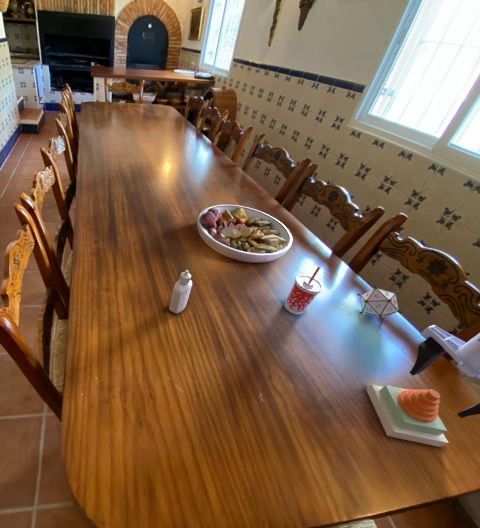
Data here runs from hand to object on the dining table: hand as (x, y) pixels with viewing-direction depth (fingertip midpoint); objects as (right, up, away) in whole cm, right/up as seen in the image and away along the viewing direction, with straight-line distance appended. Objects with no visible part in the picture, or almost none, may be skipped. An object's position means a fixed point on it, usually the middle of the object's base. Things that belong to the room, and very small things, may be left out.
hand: (437, 392), depth 51 cm
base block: (-1, -7, +6) cm, 10 cm away
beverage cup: (-10, +10, +27) cm, 30 cm away
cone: (0, -4, +4) cm, 6 cm away
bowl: (-15, +30, +50) cm, 60 cm away
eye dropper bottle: (-41, +11, +24) cm, 49 cm away
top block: (0, -6, +5) cm, 8 cm away
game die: (+10, +9, +27) cm, 30 cm away
